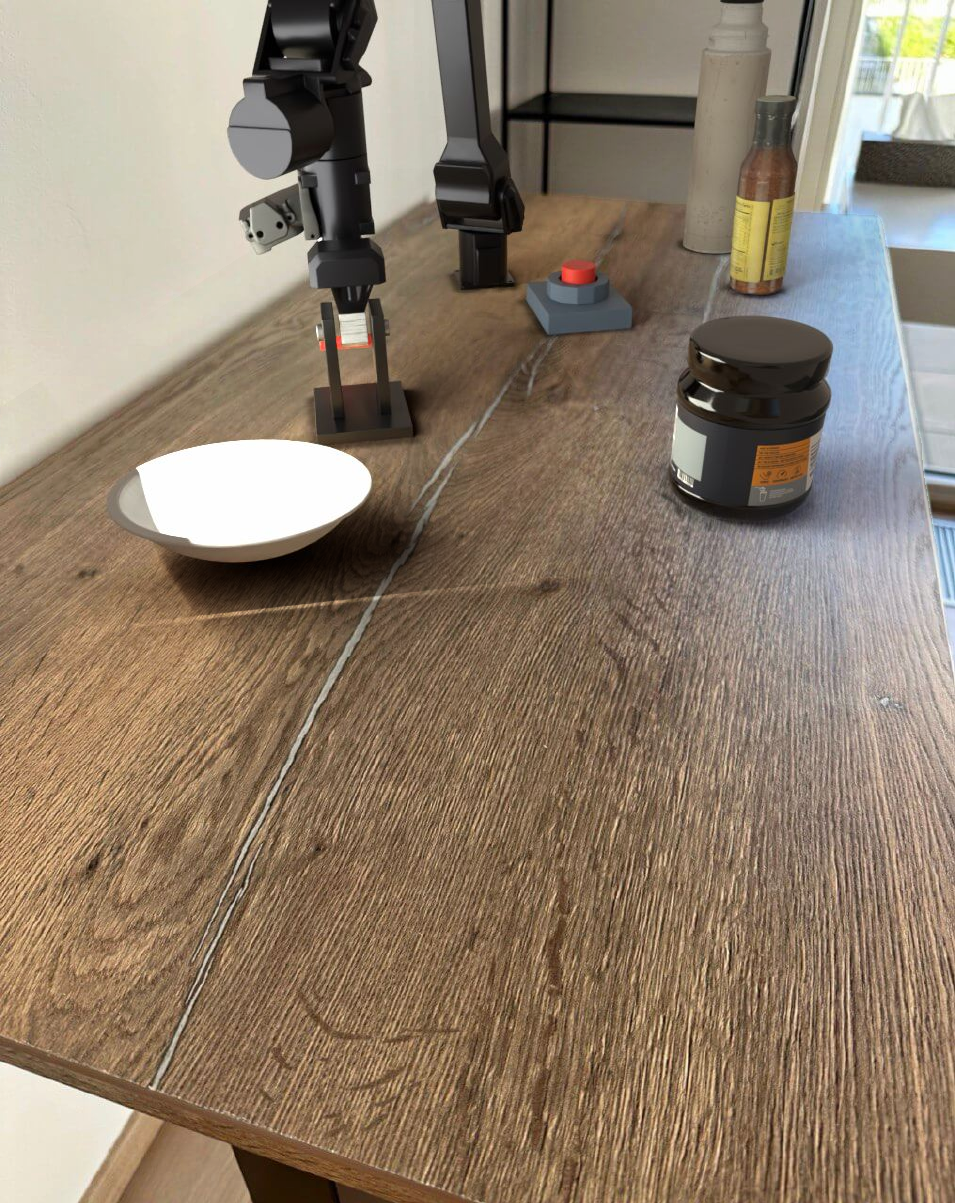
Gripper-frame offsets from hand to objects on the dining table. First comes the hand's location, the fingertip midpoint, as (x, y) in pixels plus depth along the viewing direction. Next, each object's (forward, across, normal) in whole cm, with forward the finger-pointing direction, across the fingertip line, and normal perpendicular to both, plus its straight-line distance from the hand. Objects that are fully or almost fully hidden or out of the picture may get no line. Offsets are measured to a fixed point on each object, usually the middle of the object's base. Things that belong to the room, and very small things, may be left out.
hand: (351, 334), depth 90 cm
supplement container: (+4, +29, +27) cm, 40 cm away
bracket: (+4, +10, 0) cm, 11 cm away
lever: (-1, +6, 0) cm, 6 cm away
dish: (+4, +30, -9) cm, 31 cm away
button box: (+4, -12, +25) cm, 28 cm away
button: (+1, -12, +25) cm, 28 cm away
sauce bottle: (+4, -16, +47) cm, 50 cm away
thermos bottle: (+4, -34, +49) cm, 60 cm away
